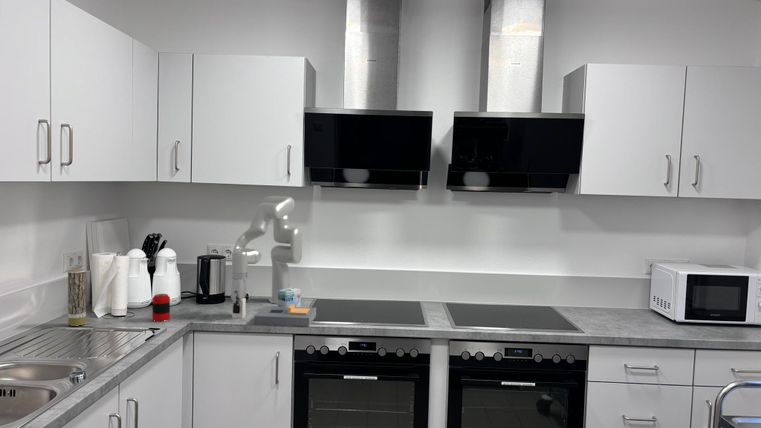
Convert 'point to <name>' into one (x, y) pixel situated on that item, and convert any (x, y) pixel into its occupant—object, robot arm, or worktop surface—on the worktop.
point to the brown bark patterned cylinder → (76, 297)
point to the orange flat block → (297, 310)
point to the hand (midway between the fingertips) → (239, 311)
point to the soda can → (161, 307)
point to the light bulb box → (289, 297)
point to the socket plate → (283, 317)
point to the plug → (242, 309)
